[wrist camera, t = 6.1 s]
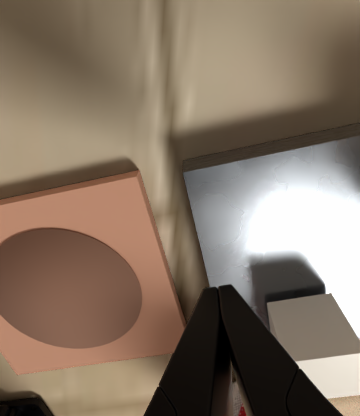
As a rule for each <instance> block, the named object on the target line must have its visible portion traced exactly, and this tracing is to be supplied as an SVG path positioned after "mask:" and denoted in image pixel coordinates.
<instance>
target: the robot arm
mask: <svg viewBox="0 0 360 416" xmlns="http://www.w3.org/2000/svg"><path fill="white" fill-rule="evenodd" d="M230 358H231V359H230ZM231 362H232V366H233V370H234V374H235V377H236V381H237V384H238V388H239V391H240V395H241V398H242V402H243V405H244V409H245V412H246V416H343V415H342V414H341V413H340V412H339V411H338V410H337V409H336V408H335V407H334V406H333V405H332V404H331V403H330V402H329V401H328V400H327V398H326V397H325V396H324V395H323V394H322V393H321V392H320V390H319V389H318V388H317V387H316V386H315V385H314V384H313V382H312V381H311V380H310V379H309V378H308V376H307V375H306V374H305V373H304V371H303V370H302V369H299V366H298V364H297V363H296V362H295V361H294V360H293V358H292V357H291V356H290V355H289V353H288V352H287V351H286V350H285V349H284V347H283V346H282V345H281V344H280V342H279V341H278V340H277V339H276V338H275V336H274V335H273V334H272V333H271V331H270V330H269V329H268V328H267V327H266V325H265V324H264V323H263V322H262V321H261V319H260V318H259V317H258V316H257V314H256V313H255V312H254V311H253V310H252V308H251V307H250V306H249V305H248V303H247V302H246V301H245V300H244V299H243V297H242V296H241V295H240V294H239V292H238V291H237V290H236V289H235V288H234V286H233V285H231V284H227V285H221V286H219V287H218V288H217V287H209V288H204V289H203V291H202V293H201V295H200V297H199V299H198V301H197V303H196V306H195V308H194V310H193V312H192V314H191V316H190V318H189V321H188V323H187V325H186V327H185V329H184V331H183V333H182V336H181V338H180V340H179V342H178V344H177V346H176V348H175V351H174V353H173V355H172V357H171V359H170V361H169V363H168V366H167V368H166V370H165V372H164V374H163V376H162V378H161V381H160V383H159V387H157V389H156V391H155V393H154V395H153V397H152V400H151V402H150V404H149V406H148V408H147V410H146V412H145V414H144V416H234V413H233V389H232V368H231ZM0 416H52V414H51V413H50V412H49V410H48V409H47V407H46V406H45V404H44V403H43V402H42V401H41V400H40V399H37V398H30V399H22V400H15V401H7V402H0Z"/></svg>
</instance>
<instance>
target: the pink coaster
mask: <svg viewBox="0 0 360 416" xmlns="http://www.w3.org/2000/svg"><path fill="white" fill-rule="evenodd" d="M185 327H186V322H185V319H184V316H183V312H182V309H181V306H180V303H179V299H178V296H177V293H176V289H175V286H174V283H173V279H172V276H171V273H170V270H169V266H168V263H167V260H166V256H165V253H164V250H163V247H162V243H161V240H160V237H159V233H158V230H157V227H156V223H155V220H154V217H153V214H152V210H151V207H150V204H149V200H148V197H147V194H146V191H145V187H144V184H143V181H142V177H141V174H140V171H139V170H137V171H132V172H127V173H123V174H118V175H113V176H109V177H104V178H99V179H95V180H90V181H85V182H81V183H76V184H71V185H66V186H62V187H57V188H52V189H48V190H43V191H38V192H34V193H29V194H24V195H20V196H15V197H10V198H6V199H1V200H0V352H1V353H2V355H3V356H4V357H5V359H6V360H7V362H8V363H9V364H10V366H11V367H12V369H13V370H14V371H15V373H16V374H17V375H20V374H27V373H34V372H41V371H49V370H56V369H63V368H70V367H77V366H84V365H91V364H99V363H106V362H113V361H120V360H127V359H134V358H142V357H149V356H156V355H163V354H170V353H174V351H175V348H176V346H177V344H178V342H179V340H180V338H181V336H182V333H183V331H184V329H185Z"/></svg>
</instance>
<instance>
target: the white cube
mask: <svg viewBox="0 0 360 416" xmlns="http://www.w3.org/2000/svg"><path fill="white" fill-rule="evenodd" d="M267 309H268V316H269V324H270V331H271V333H272V334H273V335H274V336H275V338H276V339H277V340H278V341H279V342H280V344H281V345H282V346H283V347H284V349H285V350H286V351H287V352H288V353H289V355H290V356H291V357H292V358H293V360H294V361H295V362H296V363H297V364H298V366H299V369H302V370H303V371H304V373H305V374H306V375H307V376H308V378H309V379H310V380H311V381H312V382H313V384H314V385H315V386H316V387H317V388H318V389H319V390H320V392H321V393H322V394H323V395H324V396H325V397H326V398H327V399H328V398H337V397H346V396H355V395H360V340H359V338H358V337H357V335H356V333H355V332H354V330H353V328H352V327H351V325H350V323H349V322H348V320H347V318H346V317H345V315H344V313H343V312H342V310H341V308H340V306H339V305H338V303H337V301H336V300H335V298H334V296H333V295H332V293H327V294H320V295H314V296H307V297H301V298H294V299H288V300H281V301H275V302H268V303H267Z"/></svg>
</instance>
